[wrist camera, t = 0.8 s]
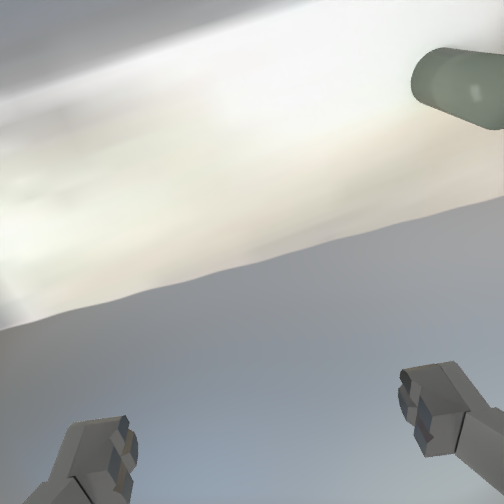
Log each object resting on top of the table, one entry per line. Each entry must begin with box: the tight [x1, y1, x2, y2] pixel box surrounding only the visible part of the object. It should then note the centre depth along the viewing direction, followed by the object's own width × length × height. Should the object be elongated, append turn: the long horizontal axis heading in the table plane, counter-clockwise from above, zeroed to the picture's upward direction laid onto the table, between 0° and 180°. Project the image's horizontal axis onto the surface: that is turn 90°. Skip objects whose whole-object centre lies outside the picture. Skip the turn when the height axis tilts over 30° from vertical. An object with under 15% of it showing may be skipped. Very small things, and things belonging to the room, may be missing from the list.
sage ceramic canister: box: [411, 48, 504, 130], centre depth 32 cm, size 5×5×10 cm
